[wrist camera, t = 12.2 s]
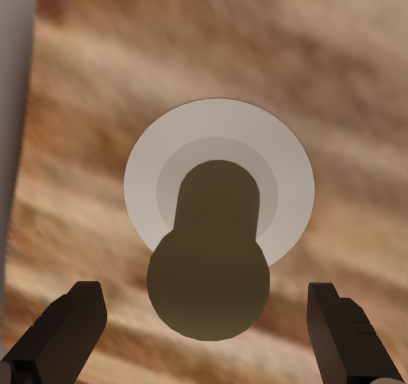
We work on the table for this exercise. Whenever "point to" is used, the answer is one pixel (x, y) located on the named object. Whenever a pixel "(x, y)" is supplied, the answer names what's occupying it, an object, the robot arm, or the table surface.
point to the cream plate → (221, 150)
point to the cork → (211, 256)
